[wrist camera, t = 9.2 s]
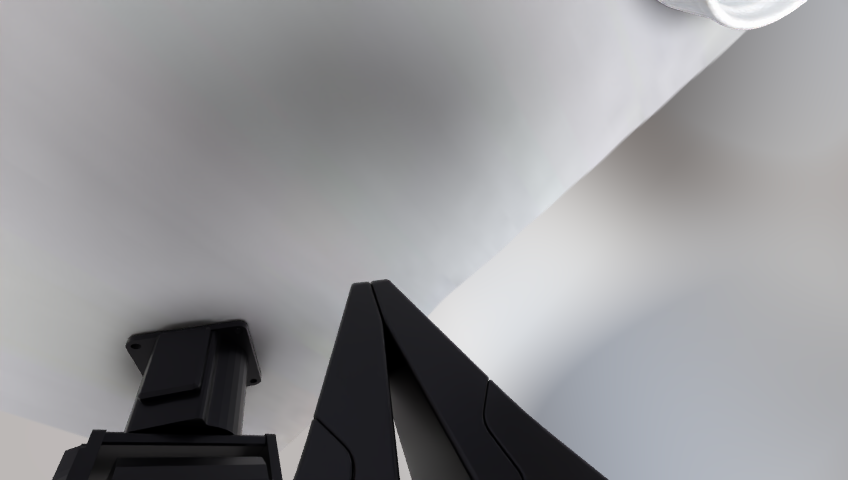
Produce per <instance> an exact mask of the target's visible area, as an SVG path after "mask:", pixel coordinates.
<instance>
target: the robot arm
mask: <svg viewBox="0 0 848 480" xmlns="http://www.w3.org/2000/svg"><path fill="white" fill-rule="evenodd" d="M126 349H127V351H128V352H129V354H130V356H131V357H132V359H133V360H134V362H135V364H136V365H137V367H138V369H139V370H140V372H141V374H142V375H143V379H142V382H141V385H140V387H139V390H138V393H137V396H136V399H135V402H134V405H133V408H132V411H131V414H130V416H129V419H128V422H127V425H126V428H125V431H124V432H106V430H93V431H92V433H91V435H90V438H89V440H88V443H87V444H82V445H80V446H78V447H75V448H72V449H69V450H66V451H65V453H64V455H63V457H62V459H61V461H60V464H59V466H58V468H57V471H56V473H55V475H54V477H53V479H52V480H282V474H281V467H280V461H279V454H278V448H277V441H276V435H275V434H265V435H264V436H260V435H242V425H243V414H244V404H245V394H246V386H252V385H256V384H258V383H260V382H261V372H260V369H259V365H258V362H257V358H256V354H255V351H254V347H253V344H252V340H251V337H250V333H249V329H248V326H247V324H246V323H245V322H242V321H235V322H228V323H221V324H214V325H207V326H200V327H193V328H185V329H178V330H171V331H164V332H157V333H150V334H143V335H136V336H132V337H130V338H129V339H128V341H127V343H126ZM488 380H489V378H488V376H487V375H486V374H485V373H484V372H483V371H482V370H481V369H479V368H478V367H477V366H476V365H475V364H474V363H473V362H472V361H471V360H470V359H469V358H468V357H467V356H466V355H465V354H464V353H463V352H462V351H461V350H460V349H459V348H458V347H457V346H456V345H455V344H454V343H453V342H452V341H451V340H450V339H449V338H448V337H447V336H446V335H445V334H444V333H443V332H442V331H441V330H440V329H439V328H438V327H437V326H435V324H433V323H432V322H431V321H430V320H429V319H428V318H427V317H426V316H425V315H424V314H423V313H422V312H421V311H420V310H419V309H418V308H417V307H416V306H415V305H414V304H413V303H412V302H411V301H410V300H409V299H408V298H407V297H406V296H405V295H404V294H403V293H402V292H401V291H400V290H399V289H398V288H397V287H396V286H395V285H394V284H393V283H392V282H391V281H389V280H387V279H385V280H377V281H372V282H371V284H370V283H369V282H360V283H354V284H352V286H351V289H350V292H349V296H348V299H347V302H346V306H345V309H344V313H343V316H342V320H341V323H340V327H339V330H338V334H337V337H336V341H335V344H334V348H333V351H332V354H331V358H330V361H329V365H328V368H327V372H326V375H325V379H324V382H323V386H322V389H321V393H320V396H319V399H318V403H317V406H316V410H315V413H314V420H312V423H311V426H310V430H309V433H308V437H307V440H306V443H305V446H304V450H303V452H302V455H301V459H300V462H299V465H298V468H297V471H296V474H295V476H294V479H293V480H400V476H399V467H398V457H397V449H396V439H395V429H394V422H395V425H396V428H397V432H398V435H399V438H400V442H401V445H402V448H403V452H404V455H405V458H406V462H407V465H408V468H409V471H410V475H411V478H412V480H608V479H607V478H606V477H604V476H603V475H602V474H601V473H599V472H598V471H597V470H595V469H594V468H593V467H592V466H590V465H589V464H588V463H587V462H586V461H584V460H583V459H582V458H581V457H579V456H578V455H577V454H576V453H574V452H573V451H572V450H571V449H570V448H568V447H567V446H566V445H564V444H563V443H562V442H561V441H560V440H558V439H557V438H556V437H555V436H553V435H552V434H551V433H550V432H548V431H547V430H546V429H545V428H543V427H542V426H541V425H540V424H539V423H538V422H537V421H535V420H534V419H533V418H532V417H531V416H529V415H528V414H527V413H526V412H525V411H524V410H523V409H521V408H520V407H519V406H518V405H517V404H516V403H515V402H514V401H513V400H512V399H511V398H510V397H509V396H507V395H506V394H505V393H504V392H503V391H502V390H501V389H500V388H499V387H498V386H497V385H496V384H495V383H494V382H493V381H492V380H489V381H488ZM393 418H394V420H393Z"/></svg>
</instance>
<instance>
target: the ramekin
mask: <svg viewBox="0 0 848 480" xmlns="http://www.w3.org/2000/svg"><path fill="white" fill-rule="evenodd" d="M658 1H659V2H660V3H662V4H664V5H665V6H667V7H670V8H673V9H677V10H680V11H684V12H687V13H691V14H695V15H699V16H703V17H707V18H711V19H712V20H714V21H716V22H717V23H719V24H721V25H723V26H726V27H729V28H732V29H736V30H750V29H755V28H759V27H763V26H765V25H768V24H771V23H773V22H775V21H777V20H779V19H781V18H782V17H784V16H786V15H787V14H789V13H791V12H792V11H794V10H795V9H796V8H798V7H799V6H801V5H802V4H803V3H805V2H806V1H807V0H658Z"/></svg>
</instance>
